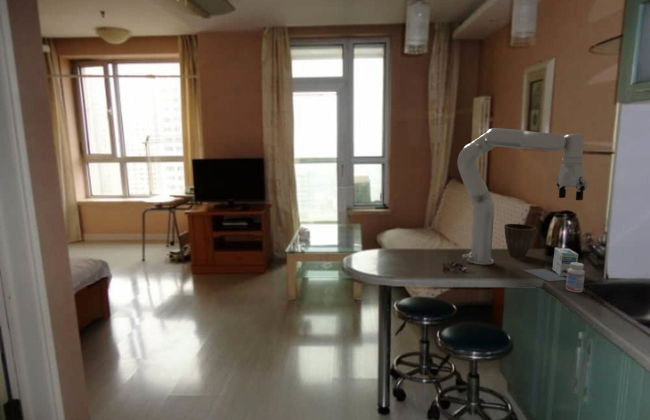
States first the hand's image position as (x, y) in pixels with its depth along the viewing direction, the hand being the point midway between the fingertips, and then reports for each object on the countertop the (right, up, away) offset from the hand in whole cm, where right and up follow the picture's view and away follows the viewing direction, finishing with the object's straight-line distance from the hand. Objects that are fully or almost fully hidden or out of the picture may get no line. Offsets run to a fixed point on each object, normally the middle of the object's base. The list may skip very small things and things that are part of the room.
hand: (570, 198), depth 189 cm
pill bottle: (-11, -38, -21) cm, 45 cm away
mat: (-13, -35, -2) cm, 37 cm away
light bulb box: (-3, -34, 0) cm, 35 cm away
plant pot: (-11, -30, +29) cm, 43 cm away
